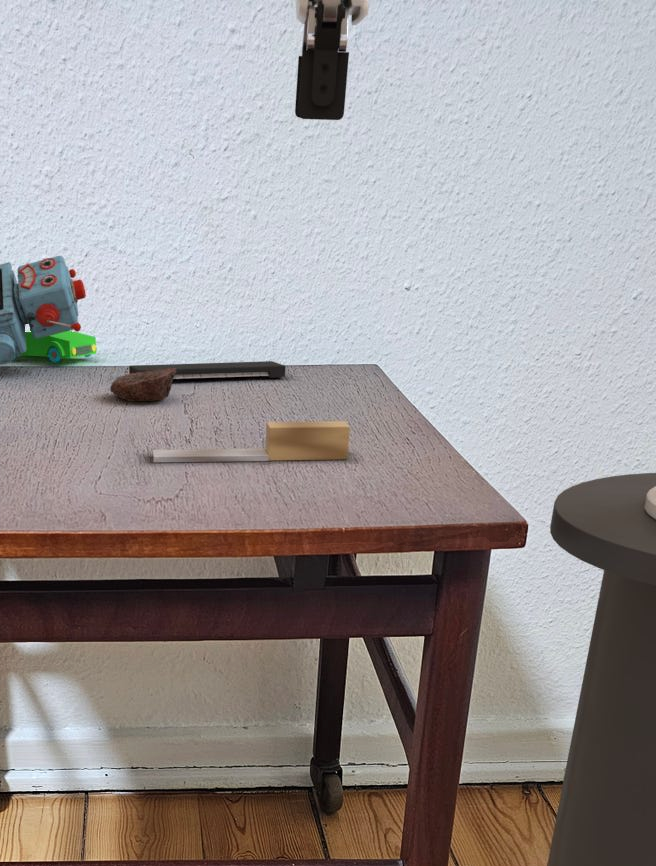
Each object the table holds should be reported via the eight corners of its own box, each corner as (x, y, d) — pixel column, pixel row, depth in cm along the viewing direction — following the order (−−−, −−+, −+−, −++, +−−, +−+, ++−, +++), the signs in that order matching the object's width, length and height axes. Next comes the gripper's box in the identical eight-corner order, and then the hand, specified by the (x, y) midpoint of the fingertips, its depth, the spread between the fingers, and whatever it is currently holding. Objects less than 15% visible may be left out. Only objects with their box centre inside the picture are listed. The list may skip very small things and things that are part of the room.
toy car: (-3, 358, 149) (-8, 300, 146) (30, 352, 154) (27, 296, 151) (68, 364, 144) (65, 304, 141) (100, 357, 149) (98, 299, 146)
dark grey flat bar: (285, 377, 137) (272, 372, 142) (285, 365, 137) (272, 361, 141) (138, 382, 134) (129, 377, 138) (137, 370, 133) (128, 365, 137)
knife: (342, 453, 106) (345, 420, 104) (348, 460, 103) (350, 426, 102) (152, 455, 105) (152, 422, 103) (153, 462, 103) (153, 429, 101)
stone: (162, 407, 123) (162, 375, 121) (98, 403, 125) (96, 371, 123) (183, 396, 128) (183, 365, 127) (121, 393, 130) (120, 362, 129)
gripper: (410, -210, 72) (378, 121, 81) (384, -157, 86) (360, 119, 96) (286, -212, 72) (268, 118, 81) (281, -159, 87) (266, 116, 96)
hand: (317, 118), depth 88 cm, fingers open, 9 cm apart
